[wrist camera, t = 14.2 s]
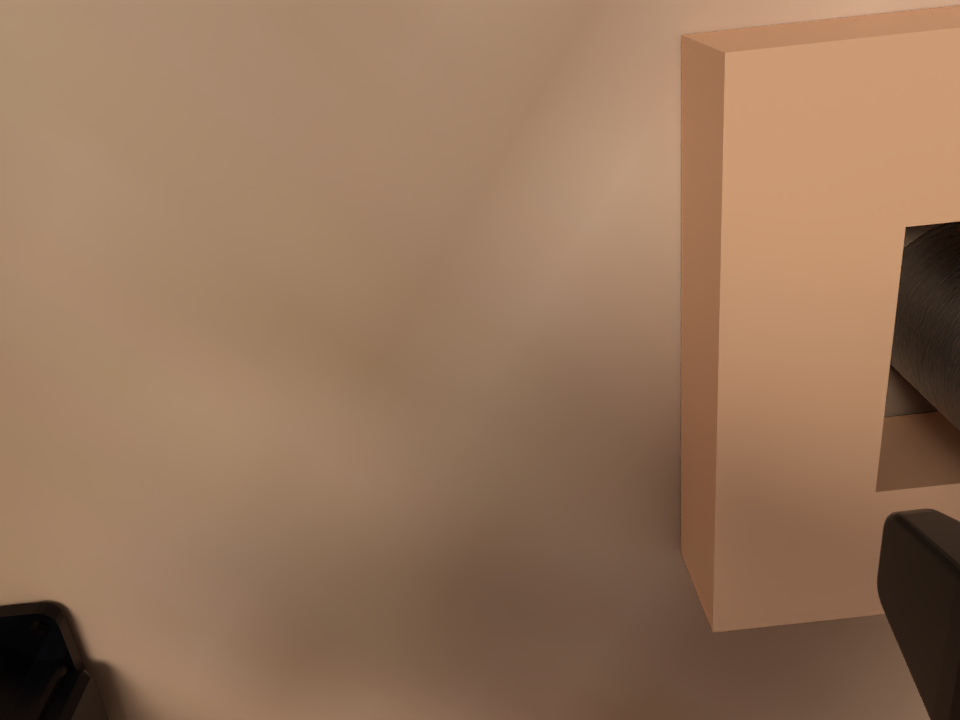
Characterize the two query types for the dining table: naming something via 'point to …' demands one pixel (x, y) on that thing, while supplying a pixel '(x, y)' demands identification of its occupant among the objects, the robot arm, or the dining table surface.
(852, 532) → the docking socket
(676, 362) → the dining table surface
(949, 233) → the cylinder
